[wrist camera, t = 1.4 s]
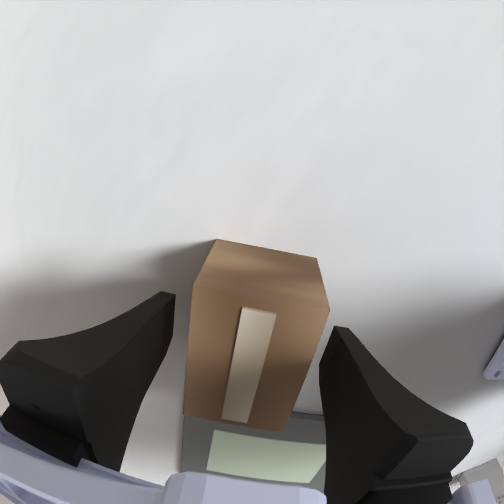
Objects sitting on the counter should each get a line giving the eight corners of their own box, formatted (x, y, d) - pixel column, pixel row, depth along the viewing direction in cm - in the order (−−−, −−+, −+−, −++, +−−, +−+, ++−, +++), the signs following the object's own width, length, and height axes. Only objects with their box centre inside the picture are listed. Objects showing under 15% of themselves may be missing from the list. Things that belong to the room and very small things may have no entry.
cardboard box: (316, 257, 13) (330, 312, 9) (283, 368, 15) (282, 433, 11) (217, 238, 13) (192, 286, 9) (202, 353, 15) (182, 416, 11)
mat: (377, 419, 16) (378, 425, 16) (321, 491, 20) (321, 495, 19) (187, 392, 16) (185, 398, 16) (181, 472, 20) (180, 477, 19)
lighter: (457, 479, 20) (476, 543, 12) (462, 471, 19) (483, 537, 12) (513, 456, 19) (536, 511, 11) (519, 447, 18) (544, 504, 11)
